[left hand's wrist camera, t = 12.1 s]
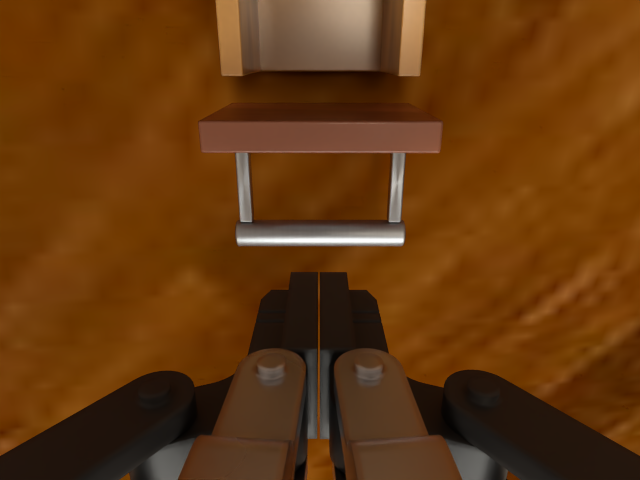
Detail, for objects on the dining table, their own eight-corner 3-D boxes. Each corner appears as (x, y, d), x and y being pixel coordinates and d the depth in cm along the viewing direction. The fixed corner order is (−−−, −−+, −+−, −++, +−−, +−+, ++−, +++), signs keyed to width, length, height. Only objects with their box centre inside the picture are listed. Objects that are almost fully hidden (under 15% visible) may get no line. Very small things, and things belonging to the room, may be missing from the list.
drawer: (401, 218, 25) (428, 273, 19) (239, 218, 25) (211, 272, 19) (437, -274, 18) (502, -459, 11) (204, -275, 18) (140, -459, 11)
